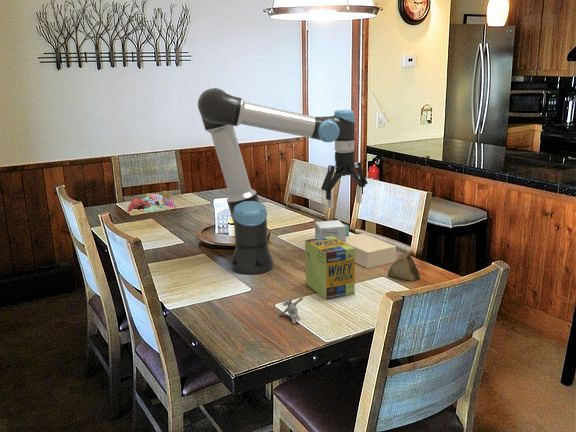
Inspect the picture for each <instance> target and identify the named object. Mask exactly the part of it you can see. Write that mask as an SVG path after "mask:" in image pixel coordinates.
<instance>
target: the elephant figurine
mask: <svg viewBox="0 0 576 432" xmlns="http://www.w3.org/2000/svg"><path fill="white" fill-rule="evenodd" d="M302 300H304V297H299V298H298V300H297V301H294V302H293V296H292V297H290V298H287V299H285V301H283V303H282V305H283V306H284V307H286V306H287V308H285V309H284V310H283V312H280V313H279V314H278V316H279V317H281V316H283V315H284V314H285V313H288V315H289V316H290V318H291V322H292V324H294V325H296V324H297V321H298V322H299V321H301V317H300V316H299V313H298V311H299V310H298V308H297V307H296V306H297V305H298V304H299V303H300V302H302ZM292 302H293V303H292Z"/></svg>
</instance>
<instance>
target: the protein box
mask: <svg viewBox="0 0 576 432" xmlns="http://www.w3.org/2000/svg"><path fill="white" fill-rule="evenodd" d="M304 243H305V244H304V247H305V249H304V251H305V253H304V255H305V285H307V286H308V287H310V288H311V289H312V290H313V291H315V292H316V293H317V294H318V295H320V296H321V297H322V298H324V300H330V299H331V300H332V299H336V298H340V297H345V296H351V295H355V291H356V290H355V289H356V288H355V286H356V282H355V280H356V278H355V277H356V276H355V272H356V271H355V270H356V268H355V267H356V265H355V248H354V247H352V246H350V245H348V244H346V243H345V242H343V241H341V240H339V239H337V238H335V237H333V236H331V237H324V238H316V239H315V238H311V239H305V240H304Z"/></svg>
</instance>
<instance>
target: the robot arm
mask: <svg viewBox="0 0 576 432" xmlns="http://www.w3.org/2000/svg"><path fill="white" fill-rule="evenodd" d="M197 108H198V112H199V114H200V116H201V120H202V123H203V127H204V130H205V131H206V132H207V133H209V134H210V135H211V139H212V142H213V145H214V148H215V149H214V150H215V152H216V156H217V159H218V162H219V165H220V169H221V172H222V175H223V179H224V182H225V185H226V188H227V191H228V192H227V193H228V196H227V198H226V203H227V206H228V210H229V212H230V217H231V220H232V223H233V225H234V240H235V244H234V245H235V248H234V249H235V250H234V252H233V255H232V260H231V270H232V271H233V272H236V273H238V274H243V275H256V274H263V273H267V272H269V271H271V270H273V267H274V259H273V256H272V254H271V251H270V249H269V246H268V222H267V221H268V220H267V218H268V211H267V208H266V205H265V204H264V203H262V202H260V201H259V197H258V194H257V191H256V190H255V189H253V188H252V187H251V183H250V179H249V177H248V172H247V168H246V166H245V162H244V159H243V156H242V152H241V149H240V146H239V142H238V138H237V135H236V131H235V127H239V126H240V125H245V126H248V127H254V128H259V129H264V130H269V131H275V132H279V133H285V134H288V135H292V136H293V135H294V136H298V137H303V138H307V139H308V138H309V139H311V140H313V139H314V140H317V141H322V142H324V143H332V142H334V151H335V152H334V162H335V165H331V164H329V165H328V166H327V172H326V175H325V178H324V180H323V182H322V186H321V187H320V189H321V190H322V191H325V199H326V200H327V208H329V209H331V210H332V209H334V192H333V189H334V187H335V186H336V185H337V183H338V181H339V180H340V178H342V177H344V176H350V177H351V178H352V179H353V181H354V182H355V184H356V185H357V186H356V190H355V193H356V194H355V203H357V204H362V203H363V199H362V198H363V195H364V188H365V187H366V186H367V185H368V184H369V182H368V180H367V178H366V175H365V173H364V171H363V168H362V162H360V161H355V160H356V159H355V158H356V157H355V156H356V155H355V154H356V153H355V151H354V150H355V132H356V131H355V127H356V126H355V124H356V120H355V119H356V118H355V113H354V111H353V110H351V109H339V110H338V109H337V110H335V111H334V113H333V115H330V116H312V115H306V114H303V113H298V112H293V111H289V110H283V109H279V108H276V107H275V108H274V107H269V106H265V105H262V104H261V105H260V104H256V103H251V102H246V101H245V100H244V99H243V98H242V97H239V96H238V97H237V96H233V95H231V94H229V93H227V92H225V90H222V89H220V88H216V87H213V88H209V89H205V91H203V92H201V94H200V95H199V97H198V100H197ZM234 126H235V127H234ZM354 168H355V170H356V171H355V170H354Z"/></svg>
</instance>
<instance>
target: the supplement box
mask: <svg viewBox="0 0 576 432" xmlns="http://www.w3.org/2000/svg"><path fill="white" fill-rule="evenodd" d="M343 224H344V223H343V222H341V220H338V219H337V220H322V221H314V237H315V238H314V239H316V238H324V237H331V236H333V237H335V238H337V239H339V240H341V241H343V242H345V243H346V227H345V226H344V225H343Z"/></svg>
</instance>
